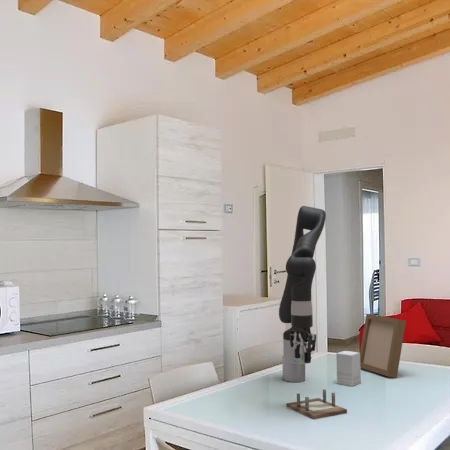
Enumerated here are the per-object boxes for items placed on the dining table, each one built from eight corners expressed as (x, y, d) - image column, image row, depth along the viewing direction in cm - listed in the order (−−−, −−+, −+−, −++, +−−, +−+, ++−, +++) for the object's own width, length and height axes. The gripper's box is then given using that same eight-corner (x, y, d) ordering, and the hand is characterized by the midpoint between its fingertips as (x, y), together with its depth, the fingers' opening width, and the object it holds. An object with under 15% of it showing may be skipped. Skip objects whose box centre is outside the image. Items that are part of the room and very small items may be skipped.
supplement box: (361, 383, 227) (360, 352, 227) (352, 386, 222) (351, 355, 222) (345, 380, 232) (345, 350, 232) (336, 383, 227) (335, 352, 227)
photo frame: (388, 379, 234) (387, 319, 235) (357, 368, 254) (356, 314, 255) (416, 375, 240) (414, 317, 241) (383, 365, 260) (382, 312, 261)
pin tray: (286, 406, 195) (286, 390, 195) (318, 401, 201) (318, 385, 201) (313, 419, 180) (313, 402, 181) (347, 413, 187) (346, 396, 187)
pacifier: (287, 364, 195) (300, 365, 190) (286, 346, 195) (300, 347, 191) (300, 361, 200) (313, 362, 196) (299, 343, 200) (313, 344, 196)
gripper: (322, 314, 191) (323, 364, 190) (299, 311, 204) (299, 357, 203) (304, 316, 188) (305, 366, 187) (281, 312, 200) (282, 359, 199)
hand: (302, 361), depth 195 cm, fingers closed on pacifier, 5 cm apart
